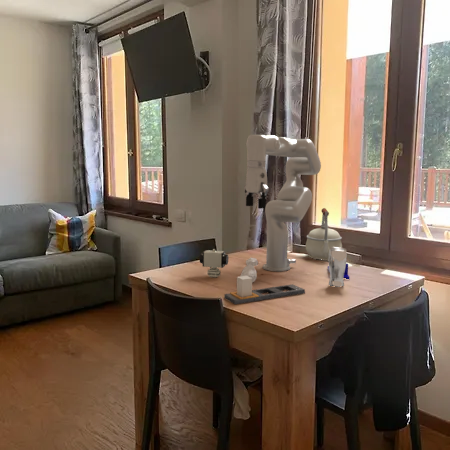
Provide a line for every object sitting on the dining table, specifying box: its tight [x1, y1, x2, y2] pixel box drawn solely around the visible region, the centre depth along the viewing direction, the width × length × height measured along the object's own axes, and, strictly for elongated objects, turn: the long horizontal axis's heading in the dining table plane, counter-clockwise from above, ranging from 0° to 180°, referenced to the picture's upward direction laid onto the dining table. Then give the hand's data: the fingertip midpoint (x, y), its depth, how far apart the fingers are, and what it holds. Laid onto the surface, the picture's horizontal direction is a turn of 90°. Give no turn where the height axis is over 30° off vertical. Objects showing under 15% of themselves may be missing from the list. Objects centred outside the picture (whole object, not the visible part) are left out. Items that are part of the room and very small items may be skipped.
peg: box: [236, 275, 253, 297], centre depth 162 cm, size 4×4×8 cm
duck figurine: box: [240, 257, 259, 284], centre depth 185 cm, size 12×8×11 cm
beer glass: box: [328, 247, 348, 288], centre depth 180 cm, size 7×7×15 cm
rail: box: [224, 283, 306, 305], centre depth 167 cm, size 30×8×2 cm, turn 117°
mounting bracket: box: [327, 263, 350, 280], centre depth 199 cm, size 18×7×6 cm, turn 173°
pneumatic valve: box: [198, 248, 229, 278], centre depth 193 cm, size 6×12×12 cm, turn 77°
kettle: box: [305, 207, 343, 261], centre depth 229 cm, size 25×18×25 cm
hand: (255, 207), depth 187 cm, fingers open, 9 cm apart
